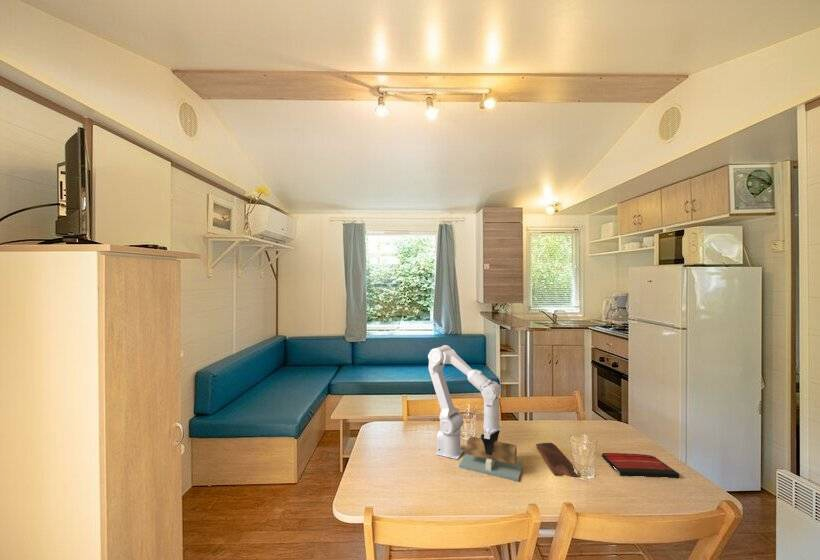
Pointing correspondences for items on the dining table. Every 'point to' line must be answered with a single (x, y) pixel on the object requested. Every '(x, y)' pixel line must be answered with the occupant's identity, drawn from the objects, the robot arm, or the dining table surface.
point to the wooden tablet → (556, 460)
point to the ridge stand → (492, 467)
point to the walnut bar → (500, 450)
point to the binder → (639, 465)
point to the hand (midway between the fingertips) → (491, 449)
